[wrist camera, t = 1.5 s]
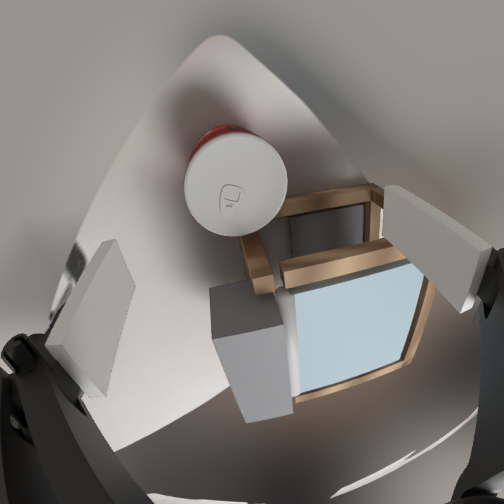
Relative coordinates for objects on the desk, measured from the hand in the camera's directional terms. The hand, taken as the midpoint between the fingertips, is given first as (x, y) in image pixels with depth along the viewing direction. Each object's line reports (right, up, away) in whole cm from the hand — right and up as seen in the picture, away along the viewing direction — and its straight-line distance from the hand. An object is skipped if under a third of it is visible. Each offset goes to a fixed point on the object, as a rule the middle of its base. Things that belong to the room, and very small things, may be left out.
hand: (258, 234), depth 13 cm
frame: (+8, -2, +25) cm, 26 cm away
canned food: (-3, +9, +17) cm, 19 cm away
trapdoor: (+6, -8, +15) cm, 18 cm away
